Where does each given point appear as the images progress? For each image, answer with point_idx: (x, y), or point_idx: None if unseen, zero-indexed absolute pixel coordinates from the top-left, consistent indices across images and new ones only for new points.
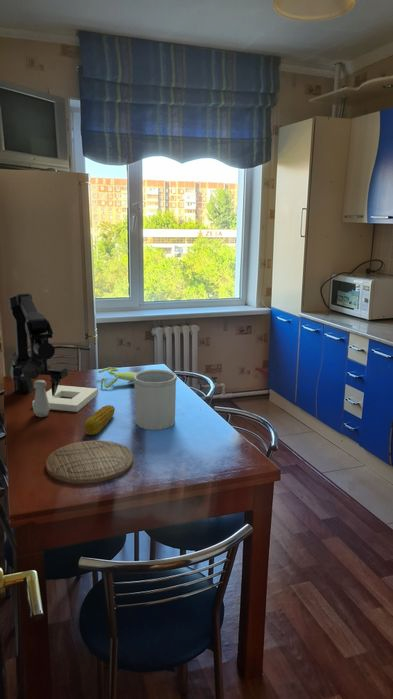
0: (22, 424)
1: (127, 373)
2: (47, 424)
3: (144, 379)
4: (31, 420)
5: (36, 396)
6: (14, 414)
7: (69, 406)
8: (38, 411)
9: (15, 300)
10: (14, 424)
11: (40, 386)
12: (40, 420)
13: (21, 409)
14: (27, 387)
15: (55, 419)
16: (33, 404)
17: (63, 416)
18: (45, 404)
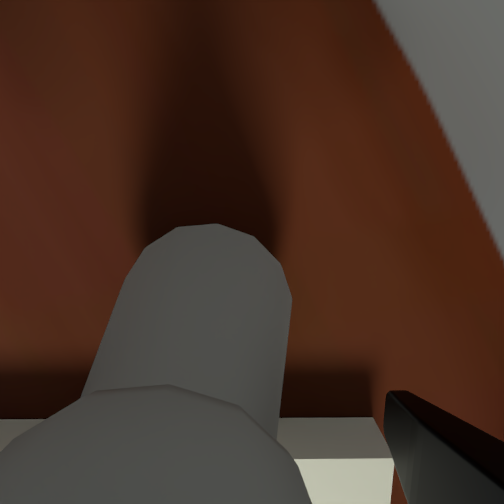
0: (272, 29)
1: None
2: (43, 87)
3: None
4: (239, 145)
5: (218, 313)
6: (457, 242)
7: (2, 448)
8: (197, 226)
9: None
10: (347, 11)
11: (15, 443)
12: (159, 165)
13: (447, 359)
14: (484, 458)
15: (41, 220)
16: (373, 436)
17: (12, 300)
18: (120, 297)
